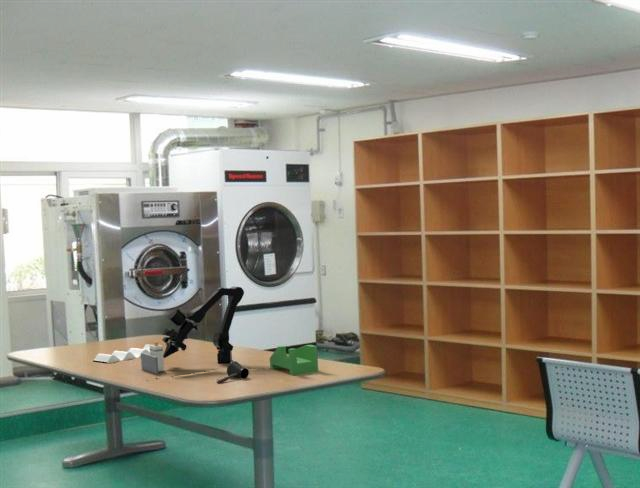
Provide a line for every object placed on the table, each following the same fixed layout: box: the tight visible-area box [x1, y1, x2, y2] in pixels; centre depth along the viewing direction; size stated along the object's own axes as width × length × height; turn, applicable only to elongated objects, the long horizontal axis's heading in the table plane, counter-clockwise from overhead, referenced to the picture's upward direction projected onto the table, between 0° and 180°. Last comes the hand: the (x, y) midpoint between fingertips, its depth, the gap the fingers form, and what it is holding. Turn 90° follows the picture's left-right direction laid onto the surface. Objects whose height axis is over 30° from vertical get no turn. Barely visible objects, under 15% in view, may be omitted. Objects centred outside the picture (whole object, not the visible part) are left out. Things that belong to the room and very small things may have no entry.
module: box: [149, 341, 165, 372], centre depth 410 cm, size 4×7×14 cm, turn 31°
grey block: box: [140, 353, 160, 375], centre depth 411 cm, size 14×20×9 cm
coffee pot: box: [215, 360, 250, 385], centre depth 381 cm, size 8×18×8 cm
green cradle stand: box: [269, 344, 319, 376], centre depth 396 cm, size 24×13×12 cm, turn 28°
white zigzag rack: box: [92, 343, 151, 364], centre depth 464 cm, size 13×35×5 cm, turn 137°
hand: (163, 357), depth 412 cm, fingers closed
